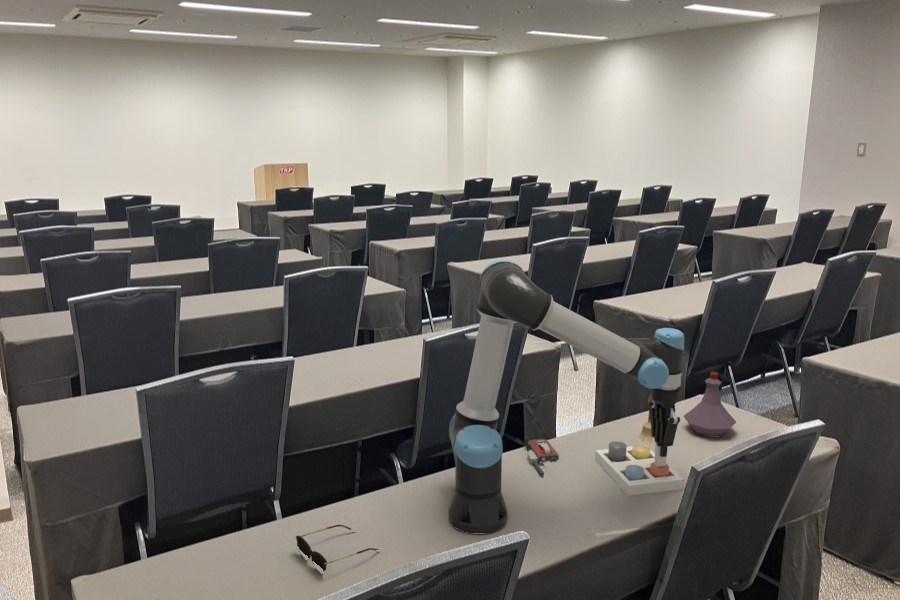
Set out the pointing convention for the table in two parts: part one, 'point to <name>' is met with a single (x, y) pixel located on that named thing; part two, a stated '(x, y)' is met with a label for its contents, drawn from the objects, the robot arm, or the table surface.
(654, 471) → the button brick
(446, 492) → the table surface
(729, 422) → the flask
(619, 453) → the button charcoal
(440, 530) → the table surface
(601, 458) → the console
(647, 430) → the hand bell
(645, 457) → the button mustard
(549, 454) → the walkie-talkie
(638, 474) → the button slate
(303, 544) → the sunglasses
